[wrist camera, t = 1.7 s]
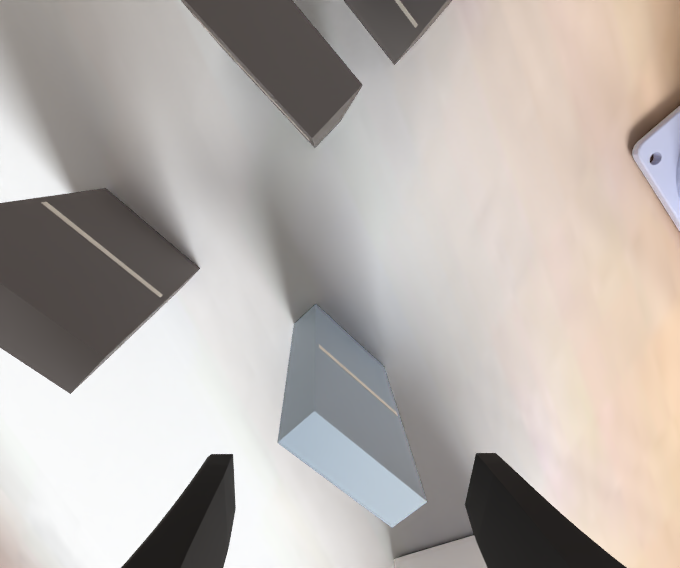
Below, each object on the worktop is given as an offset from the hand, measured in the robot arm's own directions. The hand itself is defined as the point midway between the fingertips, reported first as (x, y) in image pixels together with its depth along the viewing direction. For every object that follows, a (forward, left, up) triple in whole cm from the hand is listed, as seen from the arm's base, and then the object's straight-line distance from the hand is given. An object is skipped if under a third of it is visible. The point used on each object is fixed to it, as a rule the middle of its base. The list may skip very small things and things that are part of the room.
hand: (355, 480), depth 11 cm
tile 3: (+10, -7, -8) cm, 14 cm away
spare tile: (0, 0, -8) cm, 8 cm away
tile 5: (+10, +2, -8) cm, 13 cm away
